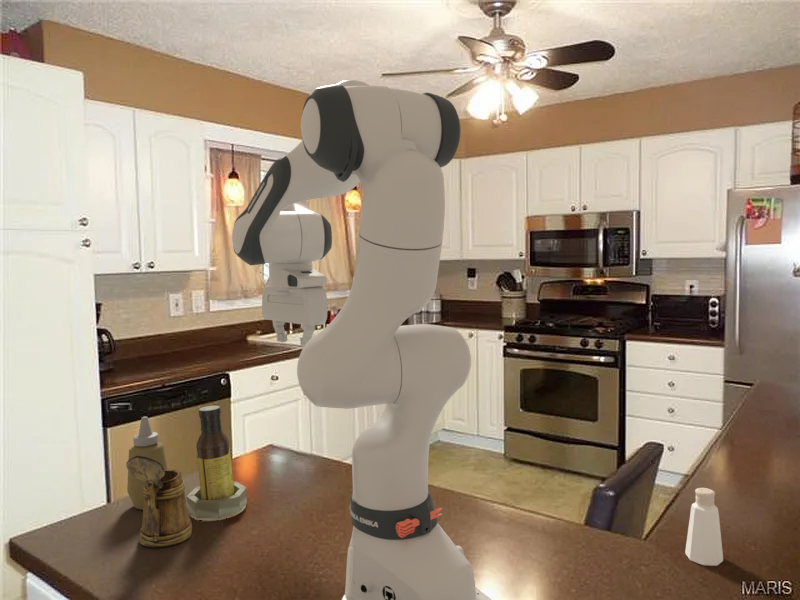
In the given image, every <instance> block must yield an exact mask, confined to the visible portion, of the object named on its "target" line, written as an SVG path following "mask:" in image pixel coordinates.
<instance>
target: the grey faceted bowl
mask: <svg viewBox="0 0 800 600" xmlns="http://www.w3.org/2000/svg"><path fill="white" fill-rule="evenodd" d="M233 486H234V495H233V496H230V497H227V498H223V499H220V500H201V491H200V485H198V486H196V487H195V488H194V489H192V490H191V491H190V493H189V494H187V496H186V503H187V508H188V514H189V518H190V519H193V518H194V519H193V520H194V521H195V520H196V521H199V520H202V521H201V522H216V521H217V520H218V521H223V520H226V518H227V519H230V518H232V517H235V516H237V515H239V514H241V513H243V511H244V510H245V509H246V507H247V502H248V497H247V495H248V494H247V492H248V491H247V486H245V485H243V484H241V483H239V482H238V481H234V480H233Z"/></svg>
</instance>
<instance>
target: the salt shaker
mask: <svg viewBox="0 0 800 600" xmlns="http://www.w3.org/2000/svg"><path fill="white" fill-rule="evenodd" d="M694 492H695V502H693V503H692V504H691V506H690V513H689V514H690V515H689V522H688V528H687V535H686V542H685V543H686V544H685V551H684V554H685V555H686V556H687V557H688V560H689V561H691V562H694V563H696V564H699V565H701V566H710V567H714V566H715V567H717V566H719V565H721V563H723V561H724V555H723V543H722V534H721V524H720V523H721V522H720V514H719V508H718V507H717V506H716V505H715V499H716V498H715V495H716V492H715V491H714V490H713V489H711V488H707V487H698V488H695V490H694Z"/></svg>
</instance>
